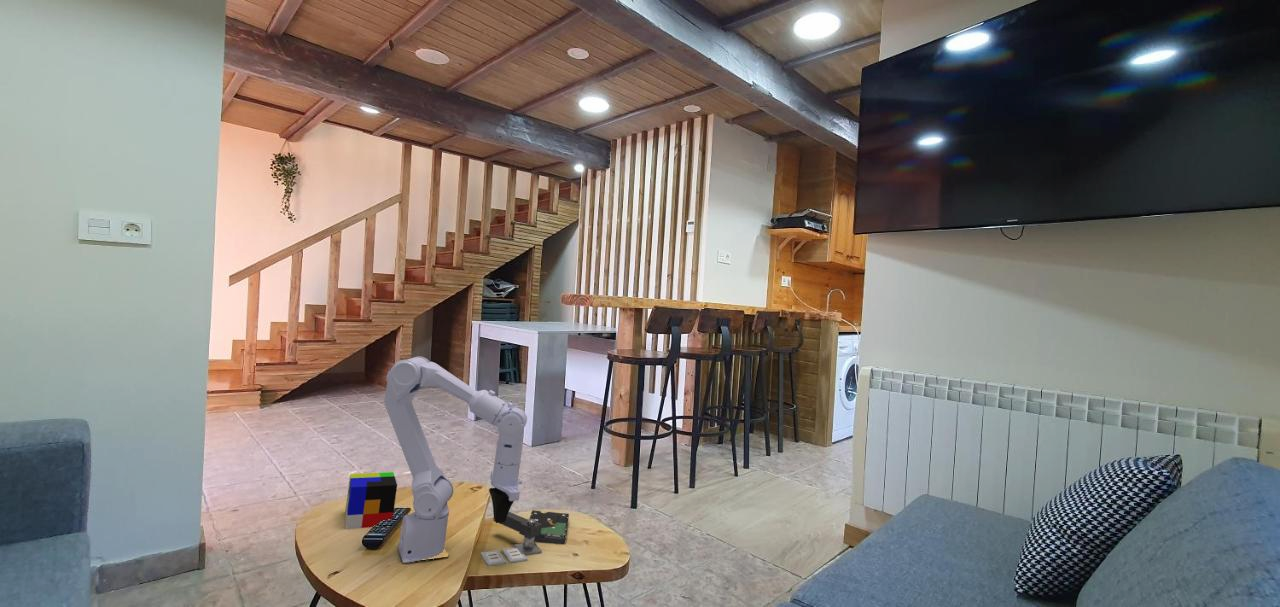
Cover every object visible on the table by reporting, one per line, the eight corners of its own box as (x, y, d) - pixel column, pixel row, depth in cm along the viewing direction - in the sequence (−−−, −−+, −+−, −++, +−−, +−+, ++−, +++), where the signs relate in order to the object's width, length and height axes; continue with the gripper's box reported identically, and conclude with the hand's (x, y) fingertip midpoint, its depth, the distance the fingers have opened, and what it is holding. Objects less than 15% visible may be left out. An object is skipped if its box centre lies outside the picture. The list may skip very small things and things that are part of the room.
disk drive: (530, 520, 144) (523, 543, 130) (531, 509, 144) (524, 531, 130) (567, 523, 145) (565, 546, 130) (569, 513, 145) (566, 535, 131)
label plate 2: (510, 563, 118) (510, 560, 118) (501, 551, 123) (502, 548, 123) (527, 560, 120) (527, 558, 120) (518, 549, 125) (518, 546, 125)
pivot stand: (521, 555, 122) (525, 525, 122) (514, 546, 126) (518, 517, 126) (541, 553, 125) (545, 523, 125) (534, 543, 129) (537, 515, 129)
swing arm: (540, 534, 126) (542, 523, 126) (530, 538, 123) (531, 527, 123) (502, 517, 133) (503, 507, 133) (491, 521, 130) (492, 511, 130)
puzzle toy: (345, 529, 124) (351, 487, 125) (344, 513, 133) (350, 473, 133) (391, 525, 129) (397, 485, 130) (388, 510, 138) (393, 472, 138)
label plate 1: (488, 566, 115) (488, 563, 115) (480, 554, 120) (480, 551, 120) (505, 563, 117) (506, 561, 117) (497, 551, 122) (498, 549, 122)
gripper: (535, 470, 116) (527, 532, 115) (513, 452, 128) (506, 508, 128) (504, 472, 112) (495, 536, 112) (485, 452, 124) (477, 510, 124)
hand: (499, 521), depth 119 cm, fingers closed
